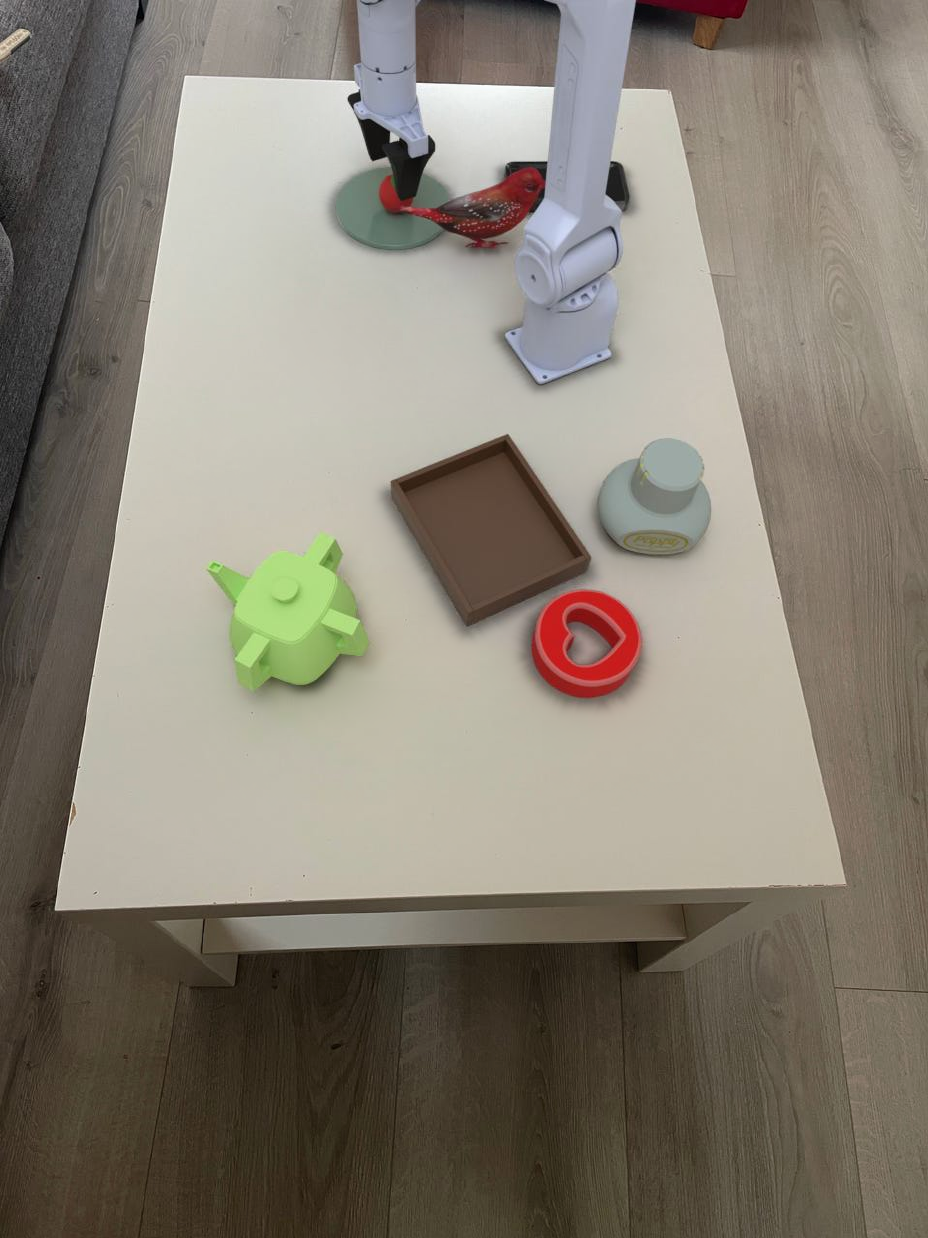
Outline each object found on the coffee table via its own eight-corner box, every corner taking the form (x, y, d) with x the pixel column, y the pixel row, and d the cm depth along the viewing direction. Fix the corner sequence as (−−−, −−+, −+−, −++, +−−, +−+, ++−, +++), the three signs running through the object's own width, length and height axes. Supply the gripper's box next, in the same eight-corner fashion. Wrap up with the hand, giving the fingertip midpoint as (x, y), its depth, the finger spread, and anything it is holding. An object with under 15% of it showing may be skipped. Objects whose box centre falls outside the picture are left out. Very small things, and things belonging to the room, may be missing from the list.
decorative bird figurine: (543, 252, 102) (555, 176, 93) (395, 261, 100) (392, 185, 91) (539, 235, 103) (550, 158, 94) (393, 244, 101) (390, 167, 92)
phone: (504, 161, 107) (622, 160, 108) (503, 169, 108) (620, 168, 109) (509, 203, 104) (631, 202, 105) (509, 211, 105) (629, 210, 106)
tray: (505, 450, 89) (508, 433, 86) (586, 571, 83) (591, 557, 80) (391, 497, 86) (390, 480, 83) (466, 626, 79) (468, 613, 77)
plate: (419, 159, 109) (419, 154, 108) (471, 228, 103) (471, 224, 103) (317, 190, 105) (317, 185, 105) (365, 263, 100) (365, 259, 99)
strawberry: (400, 185, 104) (410, 160, 100) (414, 216, 104) (424, 192, 100) (369, 192, 103) (378, 166, 99) (383, 223, 103) (392, 198, 98)
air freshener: (698, 492, 87) (729, 430, 78) (703, 562, 84) (736, 505, 75) (592, 484, 87) (611, 421, 78) (592, 554, 84) (612, 495, 75)
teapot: (343, 568, 82) (333, 511, 73) (379, 673, 77) (373, 625, 68) (221, 604, 80) (196, 549, 71) (251, 713, 75) (228, 670, 66)
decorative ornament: (652, 678, 78) (661, 664, 75) (556, 711, 76) (561, 699, 73) (608, 590, 82) (614, 574, 79) (515, 620, 80) (519, 605, 77)
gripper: (324, 28, 90) (336, 149, 102) (383, 107, 84) (388, 225, 97) (384, 13, 92) (389, 133, 104) (446, 89, 86) (444, 207, 98)
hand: (392, 176), depth 100 cm, fingers open, 7 cm apart
